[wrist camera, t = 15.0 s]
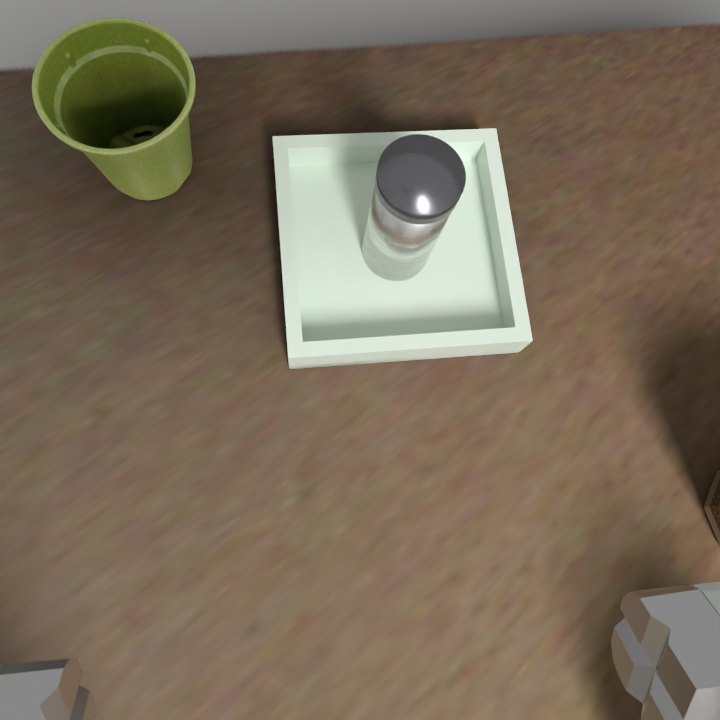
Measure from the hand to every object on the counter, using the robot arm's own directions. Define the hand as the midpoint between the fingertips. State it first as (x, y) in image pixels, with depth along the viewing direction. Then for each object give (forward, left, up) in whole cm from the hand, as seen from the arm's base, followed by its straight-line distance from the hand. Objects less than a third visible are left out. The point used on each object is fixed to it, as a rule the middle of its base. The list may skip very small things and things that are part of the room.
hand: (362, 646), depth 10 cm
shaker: (+7, +20, -31) cm, 37 cm away
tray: (+7, +20, -31) cm, 38 cm away
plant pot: (-10, +28, -32) cm, 44 cm away
